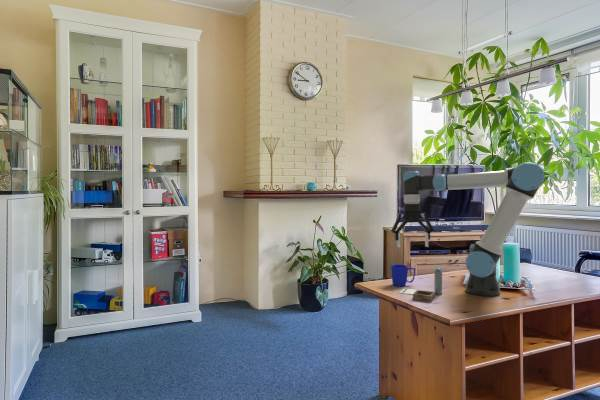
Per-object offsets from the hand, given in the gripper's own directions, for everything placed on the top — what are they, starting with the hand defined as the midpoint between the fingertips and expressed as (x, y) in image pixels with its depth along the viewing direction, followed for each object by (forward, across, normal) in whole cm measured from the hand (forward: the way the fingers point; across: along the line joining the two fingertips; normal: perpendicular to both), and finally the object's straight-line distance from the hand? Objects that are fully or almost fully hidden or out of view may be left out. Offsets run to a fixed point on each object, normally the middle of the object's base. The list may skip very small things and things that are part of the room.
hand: (412, 246), depth 193 cm
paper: (+22, 0, +4) cm, 22 cm away
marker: (+22, -10, +6) cm, 25 cm away
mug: (+22, +2, -11) cm, 24 cm away
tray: (+22, 0, +14) cm, 26 cm away
